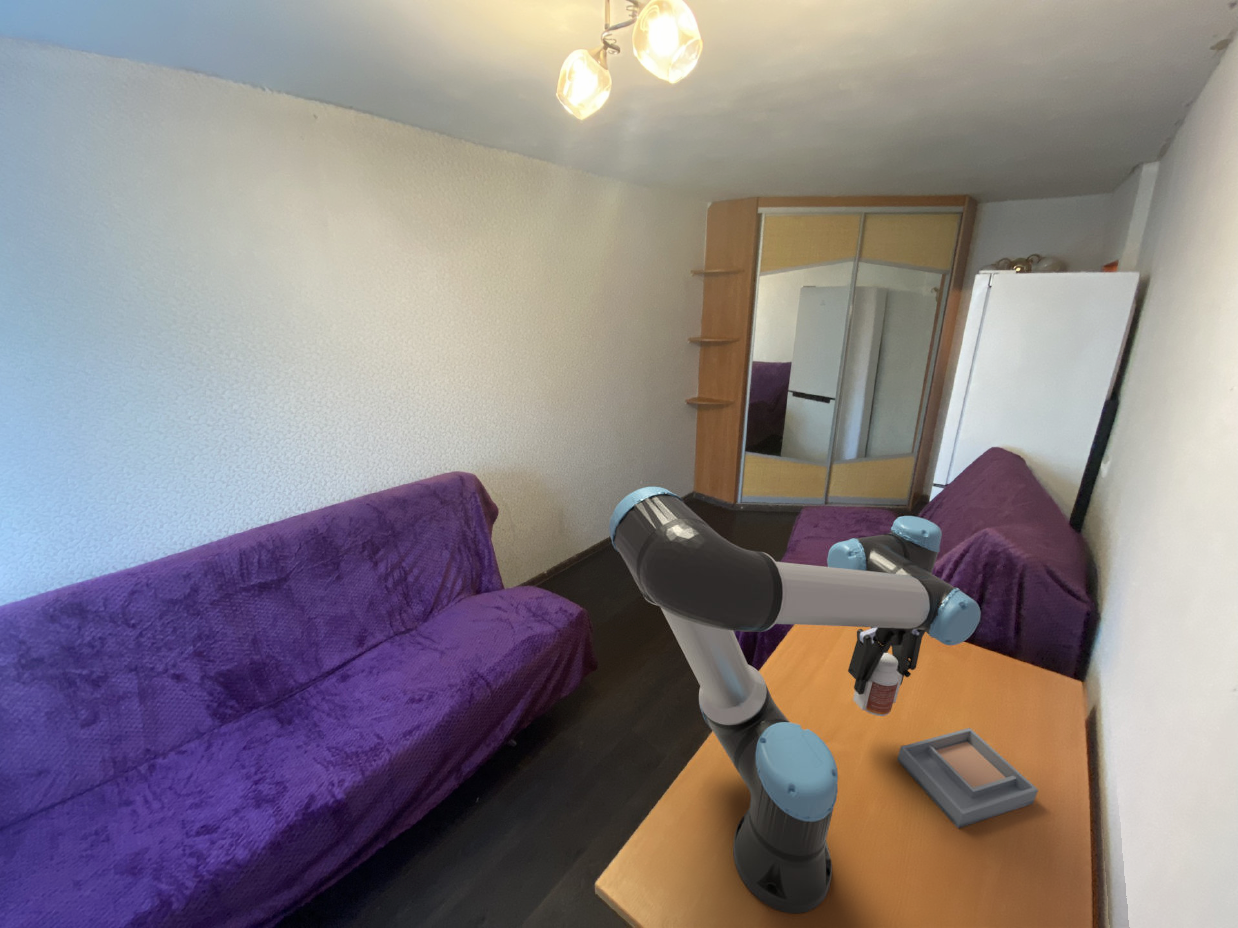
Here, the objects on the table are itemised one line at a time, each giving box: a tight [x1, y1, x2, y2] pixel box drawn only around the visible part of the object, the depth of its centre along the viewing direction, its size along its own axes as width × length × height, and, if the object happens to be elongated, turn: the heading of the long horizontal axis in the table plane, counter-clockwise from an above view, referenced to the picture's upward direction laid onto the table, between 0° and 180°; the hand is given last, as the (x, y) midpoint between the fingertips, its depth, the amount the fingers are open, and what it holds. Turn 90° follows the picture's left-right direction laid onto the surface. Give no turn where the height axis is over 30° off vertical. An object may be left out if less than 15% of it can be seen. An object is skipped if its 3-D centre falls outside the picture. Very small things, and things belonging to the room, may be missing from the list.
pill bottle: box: [864, 652, 899, 717], centre depth 101 cm, size 6×6×11 cm
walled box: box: [896, 727, 1039, 829], centre depth 98 cm, size 17×14×4 cm
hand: (874, 701), depth 102 cm, fingers closed on pill bottle, 6 cm apart
